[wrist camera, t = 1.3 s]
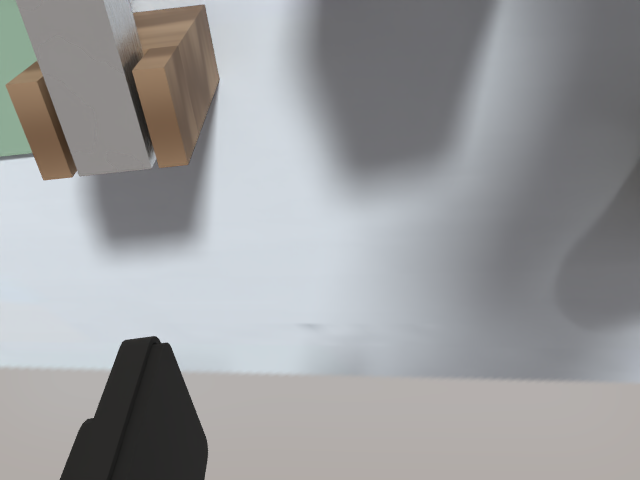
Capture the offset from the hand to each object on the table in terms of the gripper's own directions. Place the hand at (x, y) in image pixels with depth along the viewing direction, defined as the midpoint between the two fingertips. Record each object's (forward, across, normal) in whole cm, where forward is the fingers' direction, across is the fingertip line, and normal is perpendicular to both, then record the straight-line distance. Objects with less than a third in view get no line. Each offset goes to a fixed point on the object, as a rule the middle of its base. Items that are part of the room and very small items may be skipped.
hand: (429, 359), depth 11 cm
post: (+25, +10, 0) cm, 27 cm away
